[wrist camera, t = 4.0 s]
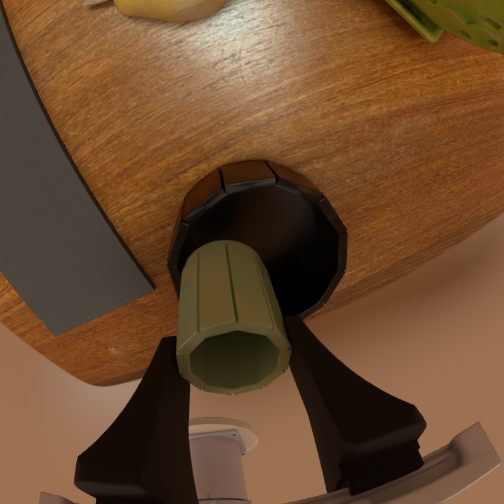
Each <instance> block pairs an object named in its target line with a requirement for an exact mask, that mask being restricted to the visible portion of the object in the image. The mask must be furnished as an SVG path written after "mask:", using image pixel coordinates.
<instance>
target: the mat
mask: <svg viewBox="0 0 504 504" xmlns="http://www.w3.org/2000/svg"><path fill="white" fill-rule="evenodd" d="M0 271H1V272H2V274H3V275H4V276H5V278H6V279H7V280H8V282H9V283H10V284H11V285H12V287H13V288H14V289H15V291H16V292H17V293H18V294H19V296H20V297H21V298H22V299H23V300H24V302H25V303H26V304H27V305H28V306H29V307H30V309H31V310H32V311H33V312H34V313H35V314H36V316H37V317H38V318H39V319H40V320H41V321H42V322H43V323H44V324H45V325H46V327H47V328H48V329H49V330H50V331H51V332H52V333H53V334H54V335H55V336H57V335H60V334H62V333H64V332H66V331H68V330H70V329H72V328H75V327H77V326H79V325H81V324H83V323H85V322H87V321H90V320H92V319H94V318H96V317H98V316H100V315H102V314H105V313H107V312H109V311H111V310H113V309H115V308H118V307H120V306H122V305H124V304H126V303H128V302H131V301H133V300H135V299H137V298H139V297H141V296H144V295H146V294H148V293H150V292H152V291H154V290H155V286H154V284H153V283H152V282H151V280H150V279H149V278H148V276H147V275H146V273H145V272H144V271H143V269H142V268H141V267H140V265H139V264H138V262H137V261H136V260H135V258H134V257H133V255H132V254H131V252H130V251H129V250H128V248H127V247H126V245H125V244H124V242H123V241H122V239H121V238H120V236H119V235H118V233H117V232H116V231H115V229H114V228H113V226H112V224H111V223H110V221H109V220H108V218H107V217H106V215H105V214H104V212H103V211H102V209H101V208H100V206H99V204H98V203H97V201H96V200H95V198H94V196H93V195H92V193H91V192H90V190H89V188H88V187H87V185H86V183H85V182H84V180H83V178H82V177H81V175H80V173H79V172H78V170H77V168H76V166H75V165H74V163H73V161H72V159H71V158H70V156H69V154H68V152H67V150H66V149H65V147H64V145H63V143H62V141H61V140H60V138H59V136H58V134H57V132H56V130H55V128H54V126H53V124H52V122H51V120H50V119H49V117H48V115H47V113H46V111H45V109H44V106H43V104H42V102H41V100H40V98H39V96H38V94H37V92H36V90H35V88H34V85H33V83H32V81H31V79H30V76H29V74H28V72H27V70H26V67H25V65H24V63H23V60H22V58H21V55H20V53H19V50H18V48H17V45H16V43H15V40H14V37H13V35H12V32H11V29H10V27H9V24H8V21H7V18H6V15H5V12H4V9H3V6H2V3H1V0H0Z"/></svg>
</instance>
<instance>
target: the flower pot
mask: <svg viewBox="0 0 504 504" xmlns="http://www.w3.org/2000/svg"><path fill="white" fill-rule="evenodd" d="M385 1H386V2H387V3H388V4H389V5H390V6H391V7H393V8H394V9H395V10H396V11H397V12H398V13H399V14H400V15H401V16H402V17H403V18H404V19H405V20H406V21H407V22H408V23H409V24H410V25H411V26H412V27H413V28H414V29H415V30H416V31H417V32H418V33H419V34H420V35H421V36H422V37H423V38H424V39H426V40H427V41H429V42H430V43H435V42H436V41H437V40H438V39H439V37H440V36H441V35H442V33H443V32H444V31H446V32H448V33H450V34H452V35H454V36H456V37H458V38H460V39H462V40H465V41H467V42H469V43H471V44H474V45H477V46H479V47H482V48H484V49H487V50H490V51H493V52H496V53H499V54H502V55H504V0H385Z"/></svg>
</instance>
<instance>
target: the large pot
mask: <svg viewBox="0 0 504 504" xmlns="http://www.w3.org/2000/svg"><path fill="white" fill-rule="evenodd" d="M346 230H347V229H346V227H345V226H344V224H343V223H342V221H341V220H340V218H339V216H338V215H337V213H336V212H335V210H334V209H333V207H332V206H331V204H330V202H329V201H328V199H327V198H326V197H325V196H324V195H323V194H322V193H321V192H320V191H319V190H318V189H317V188H316V187H315V186H314V185H313V184H312V183H310V182H309V181H308V180H307V179H306V178H305V177H304V176H302V175H301V174H299V173H297V172H294V171H292V170H290V169H288V168H286V167H284V166H282V165H279V164H276V163H273V162H269V161H267V160H266V161H263V160H249V161H240V162H236V163H231V164H228V165H226V166H222V167H220V168H217V169H216V170H215V171H213V172H211V173H209V174H208V175H207V176H205V177H204V178H203V179H201V180H200V181H199V182H198V183H197V184H196V185H195V186H194V187H193V188H192V190H191V191H189V192H188V193H187V196H186V197H184V200H183V203H182V206H181V209H180V211H179V214H178V218H177V221H176V224H175V227H174V230H173V235H172V240H171V245H170V250H169V255H168V260H167V262H168V265H167V267H168V270H169V273H170V276H171V279H172V282H173V285H174V288H175V291H176V294H177V297H178V300H179V299H180V287H181V276H182V272H183V269H184V266H185V263H186V261H187V260H188V258H189V257H190V256H191V254H192V253H193V252H194V251H196V250H197V249H198V248H200V247H201V246H203V245H205V244H207V243H210V242H214V241H219V240H231V241H237V242H240V243H243V244H245V245H247V246H249V247H250V248H252V249H253V250H254V251H255V252H256V253H257V254H258V255H259V256H260V258H261V260H262V262H263V264H264V266H265V267H266V269H267V272H268V275H269V278H270V281H271V284H272V287H273V290H274V293H275V296H276V299H277V302H278V305H279V308H280V311H281V314H282V317H287V316H292V315H298V316H300V318H301V319H302V320H303V319H305V318H306V317H308V316H310V315H311V314H313V313H314V312H316V311H317V310H318V309H320V308H321V307H323V304H322V303H324V304H326V303H327V301H328V300H329V298H330V296H331V295H332V293H333V292H334V290H335V288H336V287H337V285H338V284H339V282H340V280H341V279H342V277H343V275H344V274H345V271H344V270H346V263H347V237H348V233H347V232H346Z"/></svg>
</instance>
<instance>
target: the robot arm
mask: <svg viewBox="0 0 504 504" xmlns="http://www.w3.org/2000/svg"><path fill="white" fill-rule="evenodd" d="M283 321H284V324H285V327H286V330H287V333H288V336H289V339H290V341H291V345H292V353H291V357H290V361H289V366H290V369H291V372H292V375H293V377H294V380H295V382H296V385H297V388H298V390H299V392H300V395H301V398H302V400H303V403H304V405H305V408H306V411H307V414H308V417H309V420H310V424H311V428H312V432H313V435H314V439H315V443H316V447H317V451H318V455H319V459H320V463H321V468H322V472H323V476H324V481H325V485H326V490H327V494H323V495H319V496H315V497H312V498H307V499H303V500H298V501H294V502H289V503H284V504H441V503H443V502H445V501H447V500H448V499H450V498H452V497H453V496H455V495H457V494H458V493H460V492H462V491H463V490H465V489H466V488H468V487H469V486H471V485H472V484H474V483H475V482H477V481H478V480H479V479H481V478H482V477H484V476H485V475H487V474H488V473H489V472H491V471H492V470H493V469H495V468H496V467H497V466H499V465H500V464H501V460H500V458H499V456H498V454H497V452H496V450H495V448H494V447H493V445H492V443H491V441H490V439H489V438H488V436H487V434H486V432H485V431H484V429H483V427H482V425H481V424H480V422H477V423H475V424H474V425H472V426H471V427H469V428H467V429H466V430H464V431H462V432H461V433H459V434H458V435H456V436H455V437H454V438H453V439H452V440H451V441H450V443H449V444H447V445H446V446H443V447H442V448H440V449H438V450H436V451H434V452H432V453H430V454H428V455H426V456H424V457H421V455H420V453H419V451H418V449H419V448H420V445H419V443H418V441H417V440H418V438H419V437H420V436H421V434H422V433H423V431H424V430H425V428H426V426H427V425H426V422H425V420H424V418H423V416H422V415H421V413H420V412H419V411H418V409H417V408H416V407H415V406H414V405H412V404H410V403H408V402H405V401H403V400H401V399H398V398H396V397H394V396H392V395H390V394H388V393H386V392H384V391H382V390H381V389H379V388H377V387H376V386H374V385H373V384H371V383H369V382H367V381H366V380H364V379H363V378H362V377H360V376H359V375H357V374H356V373H354V372H353V371H352V370H351V369H349V368H348V367H347V366H346V365H344V364H343V363H342V362H341V361H340V360H339V359H337V358H336V357H335V356H334V355H333V354H332V353H331V352H330V351H329V350H328V349H327V348H326V347H325V346H324V345H323V344H322V343H321V342H320V341H319V340H318V339H317V338H316V337H315V335H314V334H313V333H312V332H311V331H310V330H309V328H308V327H307V326H306V325H305V323H304V322H303V321H302V319H301V318H300V316H298V315H292V316H287V317H283ZM176 343H177V337H176V336H171V337H163V338H162V339H161V341H160V343H159V345H158V348H157V350H156V352H155V354H154V356H153V359H152V361H151V363H150V365H149V367H148V369H147V371H146V373H145V375H144V377H143V378H142V380H141V382H140V384H139V385H138V388H137V389H136V391H135V392H134V394H133V396H132V397H131V399H130V401H129V402H128V403H127V405H126V406H125V408H124V409H123V411H122V412H121V413H120V414H119V416H118V417H117V418H116V420H115V421H114V422H113V423H112V425H111V426H110V427H109V428H108V429H107V430H106V431H105V432H104V433H103V434H102V435H101V436H100V437H99V439H98V440H97V441H96V442H94V443H93V444H92V445H91V446H90V447H89V448H88V449H86V450H85V451H84V452H83V453H82V454H81V455H79V456H78V458H77V463H76V470H75V477H74V484H75V486H76V487H77V488H79V489H80V490H82V491H84V492H85V493H87V494H89V495H91V496H93V497H95V498H96V504H251V501H250V500H248V498H247V493H246V486H245V480H244V474H243V467H242V460H241V458H246V457H247V456H248V455H247V452H246V450H245V447H244V445H243V443H242V440H241V438H240V436H239V433H238V431H237V430H236V429H229V430H221V431H213V432H204V433H194V434H189V403H190V402H189V401H190V382H188V381H187V380H185V379H184V378H183V377H181V374H179V371H178V364H177V357H176ZM39 504H78V503H73V502H72V501H70V500H68V499H66V498H64V497H61V496H58V495H54V494H50V493H46V492H40V500H39Z"/></svg>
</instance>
